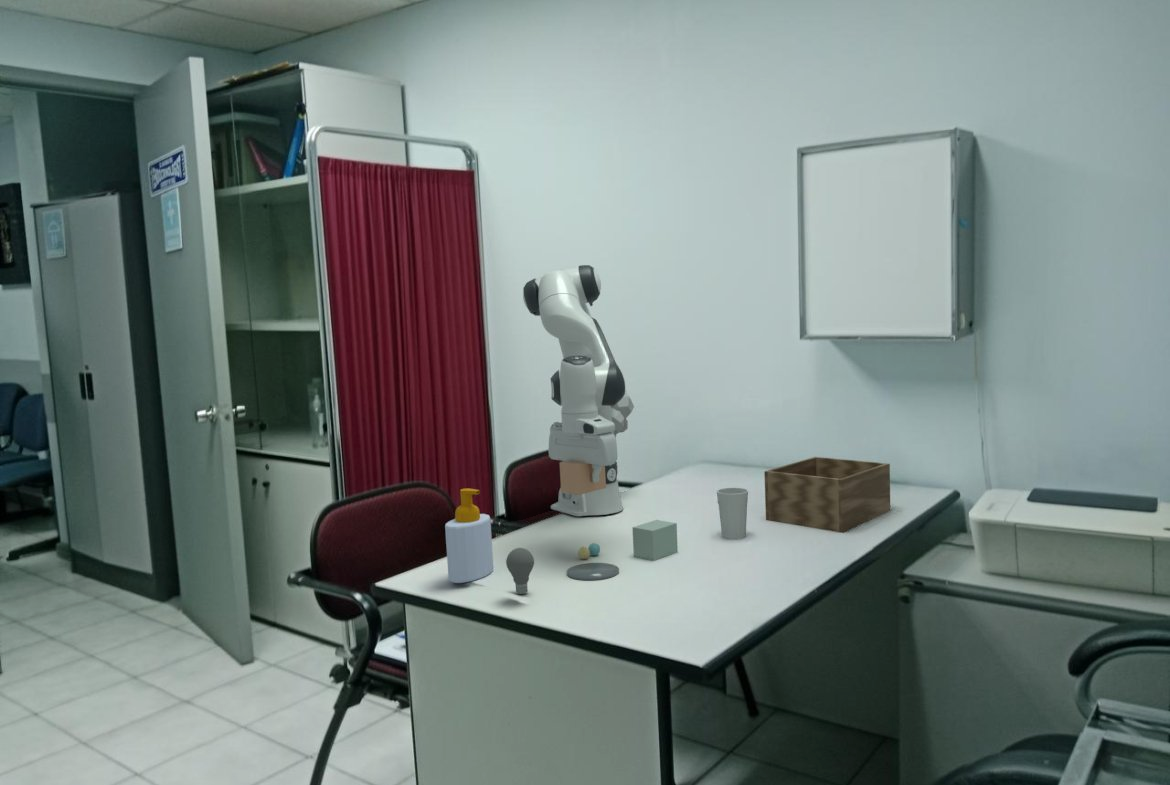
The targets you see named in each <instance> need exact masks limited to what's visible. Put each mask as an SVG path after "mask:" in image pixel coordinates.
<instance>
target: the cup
mask: <svg viewBox="0 0 1170 785" xmlns="http://www.w3.org/2000/svg"><path fill="white" fill-rule="evenodd" d="M716 496H717V504H718V512H719V520H720V530H721V538H722V539H724V540H731V541H732V540H742V539H745V538H746V537H747V520H748V519H747V516H748V501H749V490H748V489H747V488H743V487H722V488H719V489H717V490H716Z"/></svg>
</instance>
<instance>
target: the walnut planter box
mask: <svg viewBox="0 0 1170 785" xmlns="http://www.w3.org/2000/svg"><path fill="white" fill-rule="evenodd" d="M890 466H891V463H887V462H874V461H867V460H866V461H863V460H853V459H843V458H833V457H832V458H831V457H823V456H821V457H820V456H813V457H809V458H806V459H803V460H800V461H796V462H795V461H794V462H793V463H788V464H786V465H782V466H779V467H776V468H772V469H768V470H765V471H764V472H763V473H764V501H765V502H764V504H765V507H764V508H765V521H767V522H768V521H769V522H775V523H781V524H787V525H793V526H799V527H806V528H812V529H818V530H823V531H829V532H835V533H840V534H841V533H842V534H844V533H846V532H848V531H851V530H852V529H854V528H856V527H859V526H860V525H863V524H865V523H867V522H869V521H871V520H874V519H875V518H878V517H880V516H881V515H884V514H886V513H888V512H891V473H890V472H891V468H890Z"/></svg>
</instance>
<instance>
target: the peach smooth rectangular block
mask: <svg viewBox="0 0 1170 785" xmlns="http://www.w3.org/2000/svg"><path fill="white" fill-rule="evenodd" d="M593 470H594V469H593V468H592V464H587V463H584V462H576V461H560V462H559V477H560V480H559V481H560V488H561V492H565V493H572V494H579V495H581V494H585V493H589V492H592V491H596V490H600V489H604V488H606V478H605V466H604V465H602V470H601V472H600V474H599V482H596V483H593V482H590V475H592V473H593Z"/></svg>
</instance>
